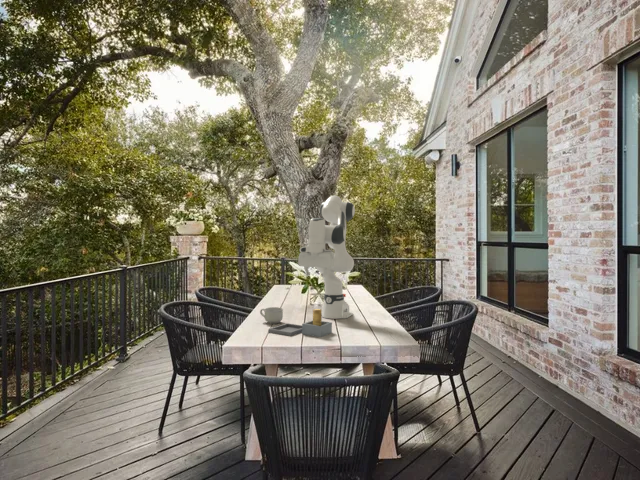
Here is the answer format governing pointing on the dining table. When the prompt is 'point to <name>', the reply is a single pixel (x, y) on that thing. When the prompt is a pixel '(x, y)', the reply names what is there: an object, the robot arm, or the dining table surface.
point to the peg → (317, 317)
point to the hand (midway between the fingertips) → (315, 276)
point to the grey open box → (317, 329)
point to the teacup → (272, 314)
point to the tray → (286, 329)
